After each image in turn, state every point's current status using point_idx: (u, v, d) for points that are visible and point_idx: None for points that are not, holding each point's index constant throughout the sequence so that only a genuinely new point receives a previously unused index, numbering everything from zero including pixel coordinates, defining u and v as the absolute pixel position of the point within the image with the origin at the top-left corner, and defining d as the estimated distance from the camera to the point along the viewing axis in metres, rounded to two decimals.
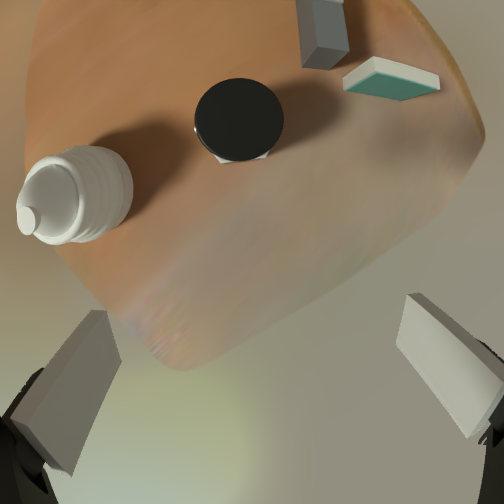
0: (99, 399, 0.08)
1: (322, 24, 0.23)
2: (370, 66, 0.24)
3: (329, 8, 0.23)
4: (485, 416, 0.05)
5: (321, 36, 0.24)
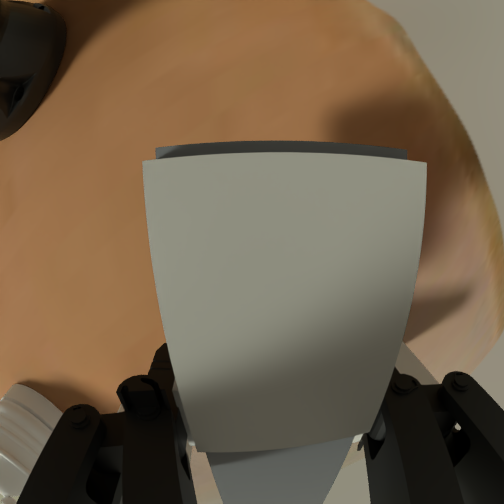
0: None
1: (248, 496, 0.07)
2: None
3: (288, 458, 0.06)
4: None
5: None
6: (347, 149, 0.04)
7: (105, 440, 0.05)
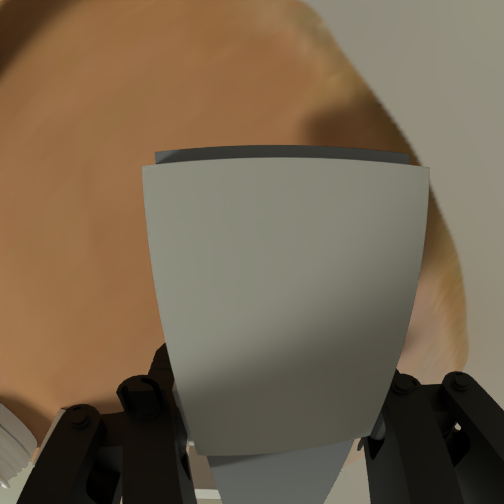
0: None
1: (248, 498, 0.07)
2: None
3: (288, 461, 0.06)
4: None
5: None
6: (349, 154, 0.04)
7: (105, 440, 0.05)
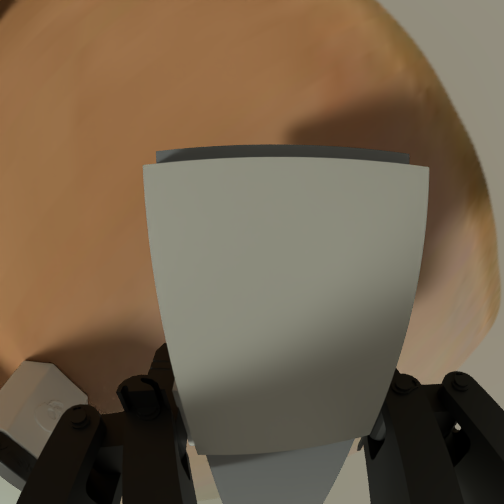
0: None
1: (247, 497, 0.07)
2: None
3: (288, 460, 0.06)
4: None
5: None
6: (349, 153, 0.04)
7: (105, 440, 0.05)
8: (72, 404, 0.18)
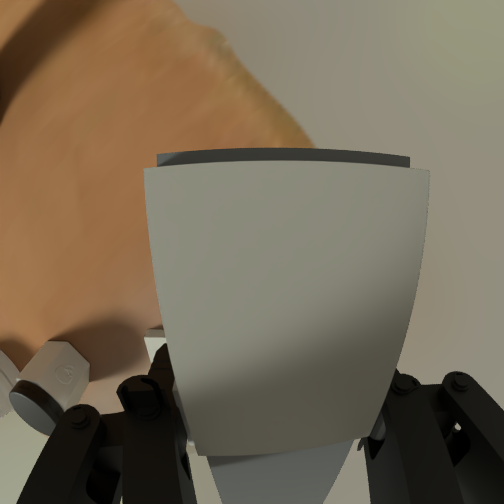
0: None
1: (247, 497, 0.07)
2: None
3: (288, 461, 0.06)
4: None
5: None
6: (350, 156, 0.04)
7: (105, 440, 0.05)
8: (79, 368, 0.30)
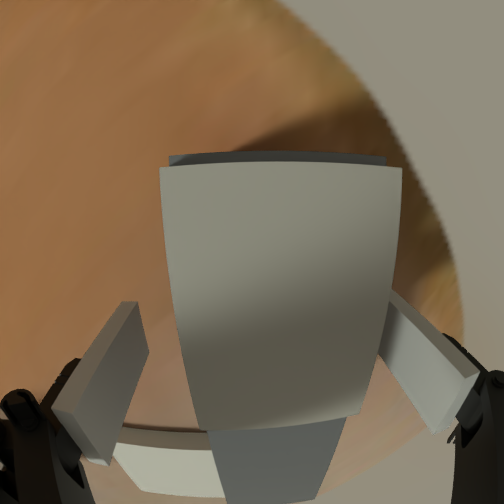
0: (131, 388, 0.09)
1: (246, 480, 0.08)
2: None
3: (284, 440, 0.07)
4: (450, 412, 0.06)
5: (240, 496, 0.08)
6: (332, 157, 0.05)
7: (1, 442, 0.04)
8: None
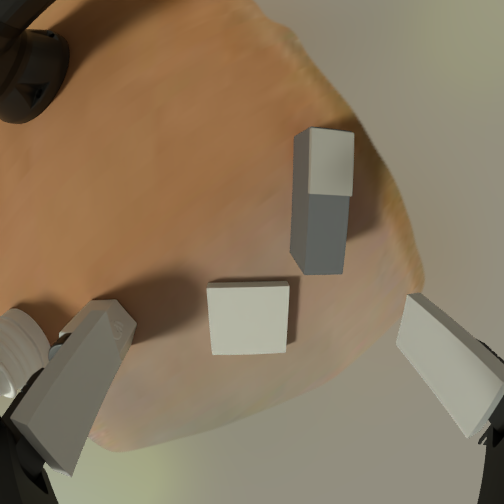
0: (99, 399, 0.08)
1: (316, 239, 0.26)
2: None
3: (331, 209, 0.25)
4: (485, 416, 0.05)
5: (311, 259, 0.27)
6: (340, 130, 0.23)
7: None
8: (128, 325, 0.34)
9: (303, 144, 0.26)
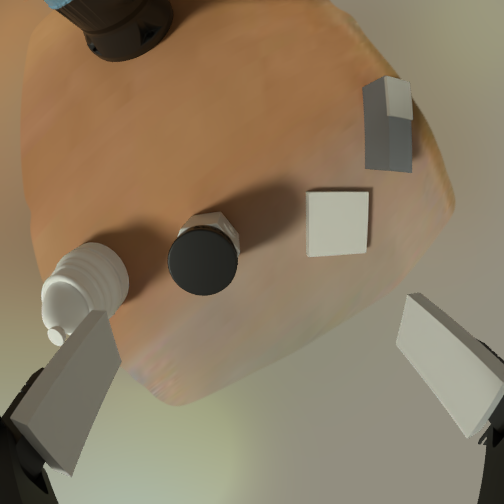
0: (99, 399, 0.08)
1: (395, 146, 0.33)
2: (307, 248, 0.44)
3: (401, 127, 0.32)
4: (485, 416, 0.05)
5: (393, 159, 0.33)
6: (401, 80, 0.30)
7: None
8: (235, 232, 0.41)
9: (376, 88, 0.33)
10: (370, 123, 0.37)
